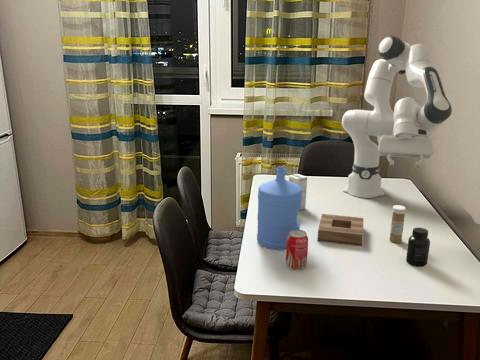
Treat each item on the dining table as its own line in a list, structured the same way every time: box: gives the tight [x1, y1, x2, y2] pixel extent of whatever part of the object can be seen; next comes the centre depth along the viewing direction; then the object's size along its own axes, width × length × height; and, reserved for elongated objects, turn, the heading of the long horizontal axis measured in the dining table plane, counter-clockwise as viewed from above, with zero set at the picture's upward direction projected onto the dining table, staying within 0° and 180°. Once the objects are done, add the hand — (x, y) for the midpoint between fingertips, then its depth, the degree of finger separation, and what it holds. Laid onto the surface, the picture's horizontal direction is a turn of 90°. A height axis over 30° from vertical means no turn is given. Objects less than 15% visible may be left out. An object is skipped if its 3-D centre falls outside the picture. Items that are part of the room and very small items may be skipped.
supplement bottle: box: [405, 227, 431, 268], centre depth 161 cm, size 7×7×12 cm
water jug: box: [256, 167, 302, 251], centre depth 174 cm, size 16×16×28 cm
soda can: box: [285, 229, 309, 271], centre depth 158 cm, size 7×7×12 cm
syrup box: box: [288, 173, 308, 211], centre depth 207 cm, size 6×6×14 cm
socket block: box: [316, 213, 364, 247], centre depth 183 cm, size 16×16×4 cm
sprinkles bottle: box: [389, 204, 407, 244], centre depth 177 cm, size 5×5×13 cm
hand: (404, 166), depth 183 cm, fingers open, 8 cm apart
